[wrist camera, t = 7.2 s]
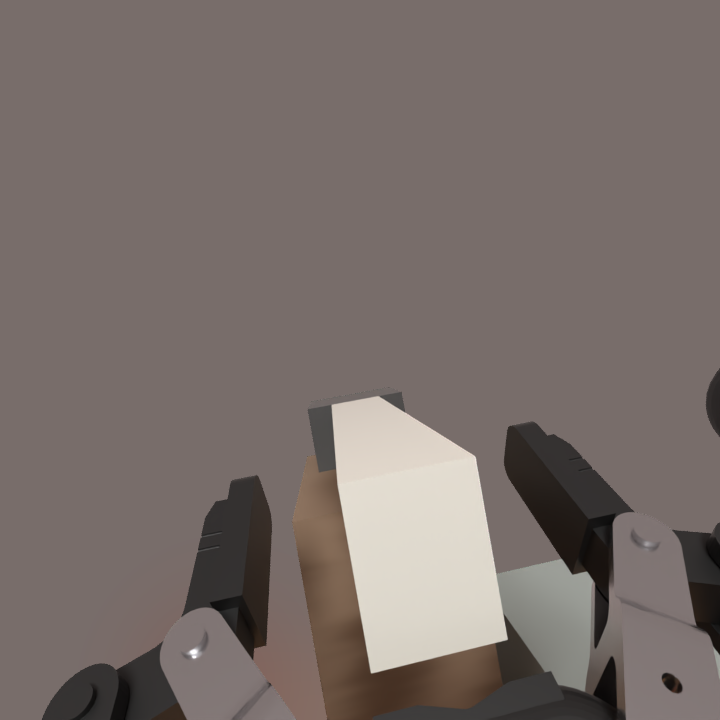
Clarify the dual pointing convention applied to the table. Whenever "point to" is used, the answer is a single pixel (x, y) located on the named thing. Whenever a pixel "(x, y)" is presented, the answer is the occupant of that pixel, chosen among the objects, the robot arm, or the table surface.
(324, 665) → the brown tall block
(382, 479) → the bar
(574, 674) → the pale green block
